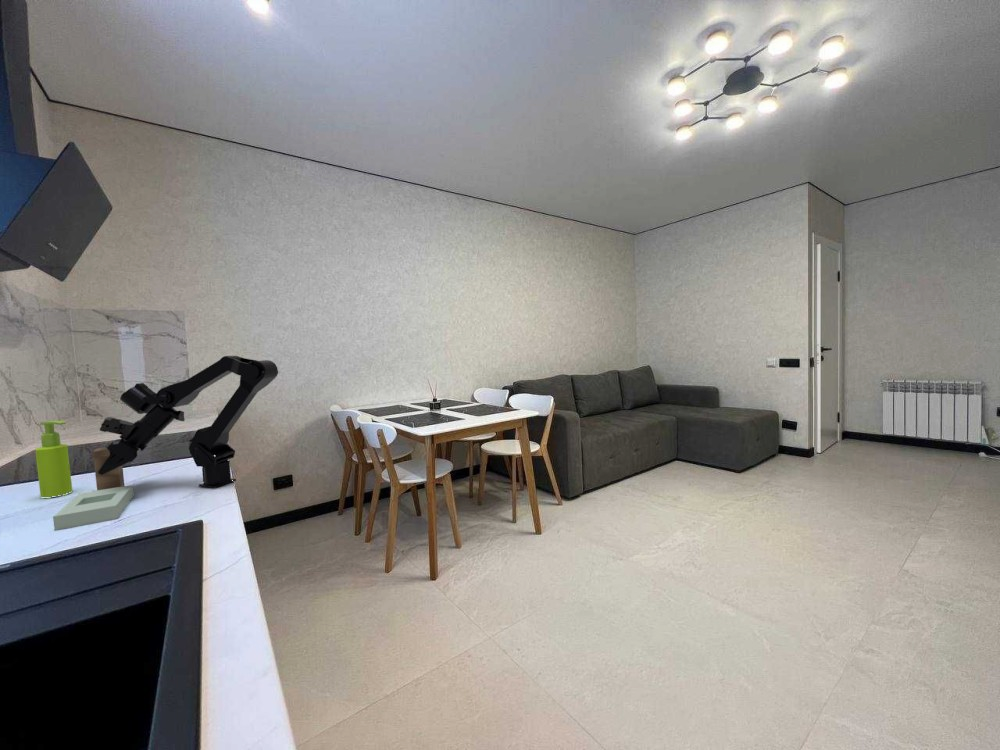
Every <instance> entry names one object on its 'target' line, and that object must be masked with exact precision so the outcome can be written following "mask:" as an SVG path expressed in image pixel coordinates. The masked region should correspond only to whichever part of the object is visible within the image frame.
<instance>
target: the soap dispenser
mask: <svg viewBox="0 0 1000 750" xmlns="http://www.w3.org/2000/svg"><path fill="white" fill-rule="evenodd" d="M67 423H68V422H67V421H64V420H49V421H44V422H40V423H39V425H40V426H43V425H44V432H45V433H43V434H41V435H40V440H41V446H40V447H37V448H35V449H34V450H35V458H36V459H35V460H36V469H37V478H38V485H39V495H40V498H41V497H52V496H58V495H63V494H66V493H69V492H71V491H72V492H73V485H72V475H71V467H70V465H71V464H70V458H69V457H70V456H69V450H68V449H69V448H68V444H66V443H64V444H62V443H61V436H60V432H56V431H55V425H57V426H59V425H65V424H67Z"/></svg>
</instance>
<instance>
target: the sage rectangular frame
mask: <svg viewBox="0 0 1000 750" xmlns="http://www.w3.org/2000/svg"><path fill="white" fill-rule="evenodd" d="M133 485H134V484H130V485H125V486H122V487H116V488H110V489H103V490H97V489H96V490H93V491H92V490H91V491H86V492H81V493H78V494H77V495H76V496H75V497H74V498H72V499H71V500H70V501H69V502H68V503H67V504H66V505H65V506H63V507H62V508H61V509H59V511H58V512H57V513H55V514H54V515H53V516H52V519H53V520H52V521H53V528H54V531H58V530H64V529H68V528H69V529H70V528H74V527H79V526H80V527H81V526H86V525H90V524H91V525H92V524H96V523H101V522H105V521H112V520H116V519H119V518H120V515H122V513H123V512H124V510H125V509H126V508H127V507H128V505H129V503H130V502H131V501H130V500H132V499H133V498H132V497H134V496H133V495H134V486H133ZM131 498H132V499H131ZM129 501H130V502H129ZM127 504H128V505H127ZM124 508H125V509H124ZM122 511H123V512H122Z"/></svg>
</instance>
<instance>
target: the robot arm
mask: <svg viewBox="0 0 1000 750" xmlns="http://www.w3.org/2000/svg"><path fill="white" fill-rule="evenodd" d="M232 373H233V374H235V375H237V376H239V385H238V387H237V389H236V390H235V391H234V393H233V394H232V396H231V397H230V399H229V400H228V401H227V402H226V404H225V405H224V406H223V409H222V410H221V411H220V413H219V414H218V416H217V417H216V418H215V420H214V421H213V423H211V425H209V426H206V427H202V428H199V429H197V430H196V432H195V433H194V436H193V437H192V438H190V439H189V440H188V442H189V446H188V450H189V453H190V455H191V457H192V459H193V461H194V464H195V466H196V467H198V468H199V467H200V468H201V467H202V469H201V471H202V473H201V474H202V481H203V483H199V484H198V487H201V488H212V489H215V488H219V487H222V486H225V485H228V484H231V483H234V482H236V481H237V479H236V478H232V477H231V476H232V475H231V464H230V460H231V459H233V458H234V457H235V453H236V450H235V449H234V448H232V446H230V445H229V444H228V443H229V439H230V431H231V430H232V429H233V427H234V426H235V425H236V423H237V422H238V420H240V417H241V416H242V415H243V413H245V410H246V409H247V408H248V406H249V405H250V404H251V402H252V401H253V399H254V398H255V397H256V395H257V394H258V393H259V392H260V391H262V389H264V388H266V387H267V386H269V385H270V384H271V383H272V382H273V381H274V380H275V379H276V378H277V376H278V374H279V369H278V366H277V365H276V363H275V362H274V361H272V360H268V359H266V360H264V359H263V360H256V359H251V358H250V359H249V358H245V357H242V356H238V355H224V356H223V357H221V358H220V359H219V360H218V361H216V362H214V363H212V364H211V365H209V366H207V367H206V368H203V369H202V370H200V371H199V372H197V373H196V374H194V375H192V376H191V377H188V378H187V379H185V380H182V381H179V382H176V383H171V384H170V385H167V386H164V387H161V388H159V390H158V391H157V392H155V391H153V390H152V389H151V388H149V387H148V385H147V384H145V383H144V382H139V383H136V384H135V385H134V386H133V387H131V388H129V389H127V390H126V391H125V392H123V393H121V395H120V398H119V399H120V402H122V403H123V404H124V405H126V406H127V407H129V408H130V409H131V410H132V411H134V412H135V413H137V414H139V415H142V414H145V415H144V416H142V417H141V418H140V419H138V420H137V421H135V422H130V421H127V420H123V419H122V418H121V419H120V418H116V417H111V416H110V417H109V416H107V417H105V418H104V419H103V422H102V423H101V424H100V427H99V430H98V431H99V432H104V433H106V432H108V433H111V434H117V435H119V439H115V440H113V441H112V442H111V443H110V444H109V445H107V449H108V450H109V452H110V456H109V457H108V458H107V460H106V461H105V463H104V464H103V466H102V467H101V468H100V470H99V471H98V473H99V474H101V475H103V474H105V473H107V472H109V471H111V470H113V469H115V468H117V467H119V466H124V465H126V464H128V463H132V462H133V461H134V460H135V459H136V458H137V457H138V456H140V454H141V452H143V451H144V450H146V448H147V447H148V446H149V445H150V443H151V442H152V441H153V440H154V439H155V438H156V437H157V436H159V434H161V433H162V432H163V431H164V430H165V429H166V428H167V427H168V426H169V425H171V423H172V422H173V421H175V420H177V421H180V422H185V411H182V410H177V409H176V408H178V407H184V406H187V405H190V404H191V403H192V402H193V401H194V400H195V399H197V398H198V396H199V394H200V393H201V392H202V391H203V390H205V389H207V388H208V387H210V386H212V385H213V384H215V383H216V382H218V381H220V380H221V379H223V378H225V377H227V376H229V375H230V374H232ZM140 451H141V452H140ZM232 480H233V482H232Z"/></svg>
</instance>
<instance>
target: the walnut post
mask: <svg viewBox="0 0 1000 750" xmlns="http://www.w3.org/2000/svg"><path fill="white" fill-rule="evenodd" d="M107 447H108V446H107ZM107 447H98V448H96V449H95V450H92V454H93V463H94V471H95V472H94V473H95V474H94V475H95V481H96V482H95V483H96V491H97V490H103V489H110V488H116V487H122V486H126V485H125V478H124V469H123V468H124V465H122V466H119V467H117V468H115V469H113V470H111V471H109V472H107V473H105V474H103V475H101V474H99V473H98V471H99V470H100V468H101V467H102V466H103V464H104V463H105V461H106V460H107V458H108V457H109V456H110V452H109V450H108V449H107Z"/></svg>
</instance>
